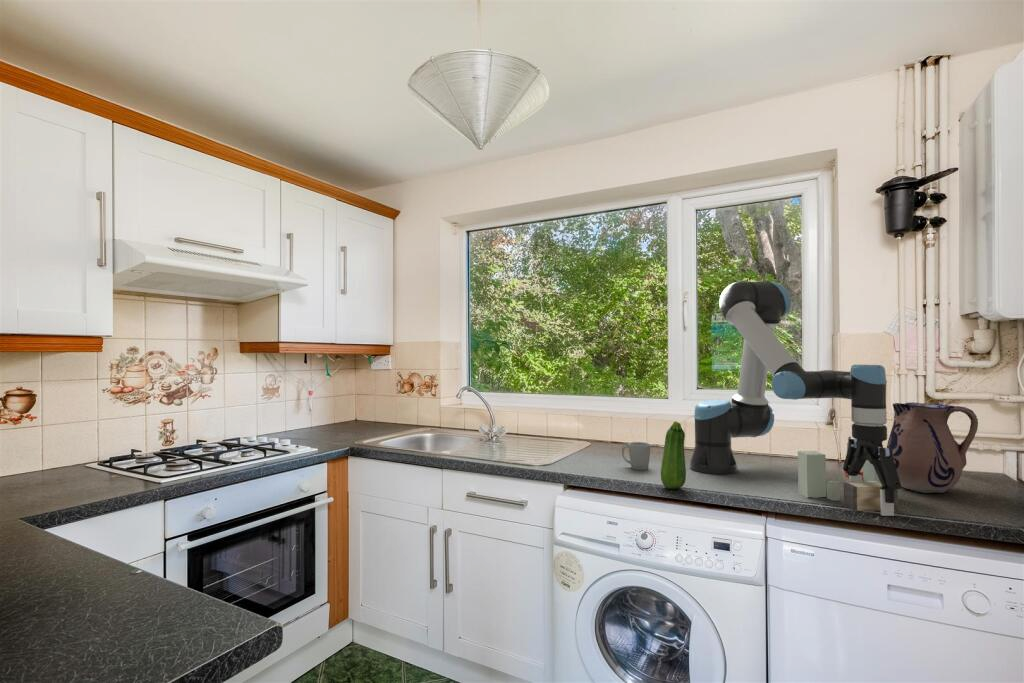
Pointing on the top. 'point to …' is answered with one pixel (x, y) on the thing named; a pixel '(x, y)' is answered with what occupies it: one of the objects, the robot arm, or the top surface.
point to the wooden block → (865, 496)
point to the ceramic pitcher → (928, 446)
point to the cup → (638, 455)
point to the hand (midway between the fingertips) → (870, 507)
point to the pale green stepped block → (815, 476)
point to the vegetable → (674, 458)
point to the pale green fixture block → (869, 473)
